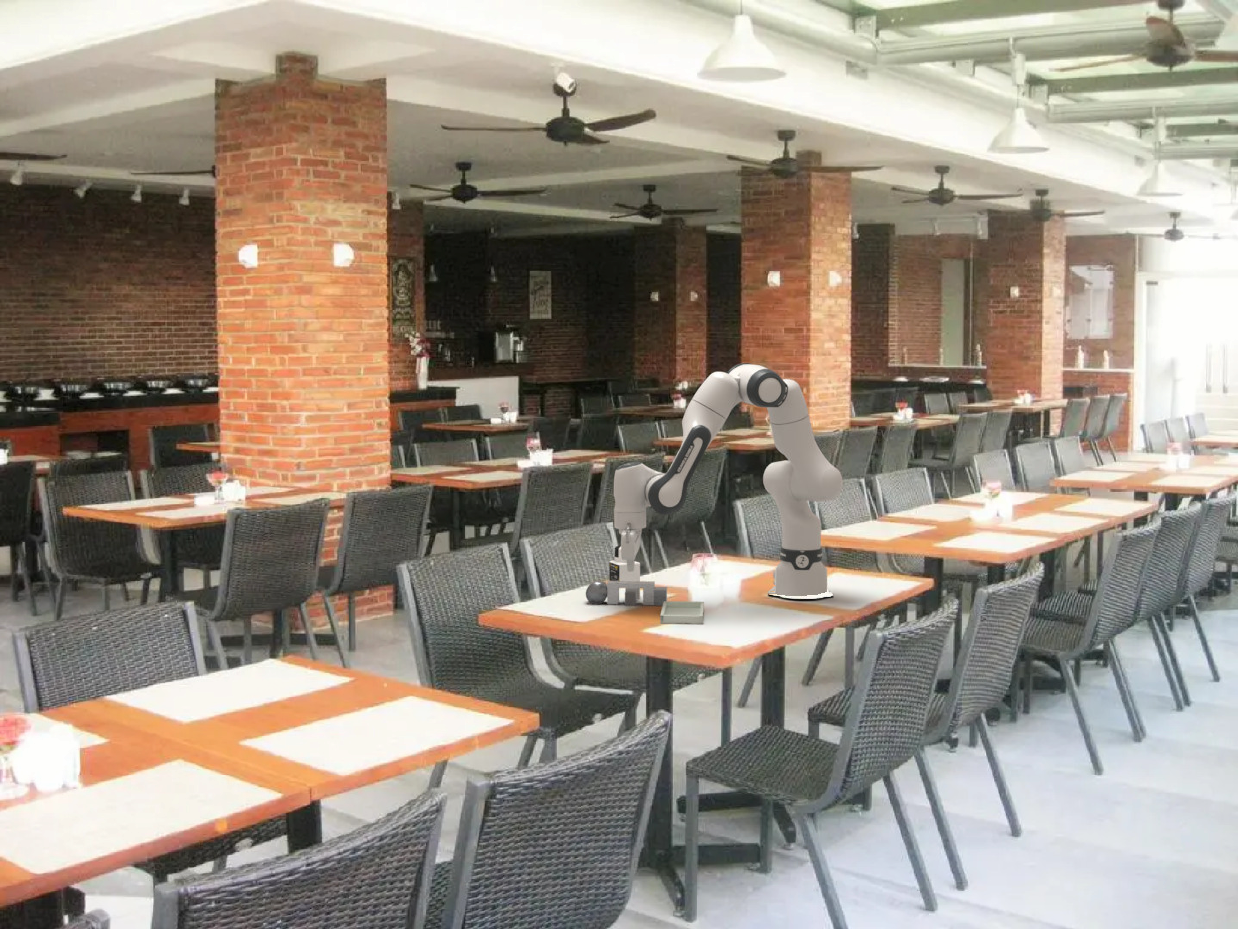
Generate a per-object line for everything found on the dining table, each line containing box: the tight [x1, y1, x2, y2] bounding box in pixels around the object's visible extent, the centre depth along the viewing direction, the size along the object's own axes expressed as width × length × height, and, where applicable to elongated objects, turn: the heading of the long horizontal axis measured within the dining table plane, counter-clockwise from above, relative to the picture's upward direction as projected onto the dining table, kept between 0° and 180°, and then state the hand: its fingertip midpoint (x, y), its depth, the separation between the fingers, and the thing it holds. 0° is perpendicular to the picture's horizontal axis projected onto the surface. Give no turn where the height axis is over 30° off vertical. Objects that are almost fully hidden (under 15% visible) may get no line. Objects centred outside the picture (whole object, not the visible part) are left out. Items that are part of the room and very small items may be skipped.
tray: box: [659, 600, 705, 625], centre depth 356 cm, size 20×11×2 cm, turn 175°
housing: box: [585, 579, 668, 607], centre depth 373 cm, size 5×22×6 cm, turn 85°
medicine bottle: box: [608, 544, 641, 581], centre depth 401 cm, size 7×7×12 cm
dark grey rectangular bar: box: [624, 588, 641, 607], centre depth 377 cm, size 14×4×4 cm, turn 176°
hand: (631, 570), depth 368 cm, fingers closed
